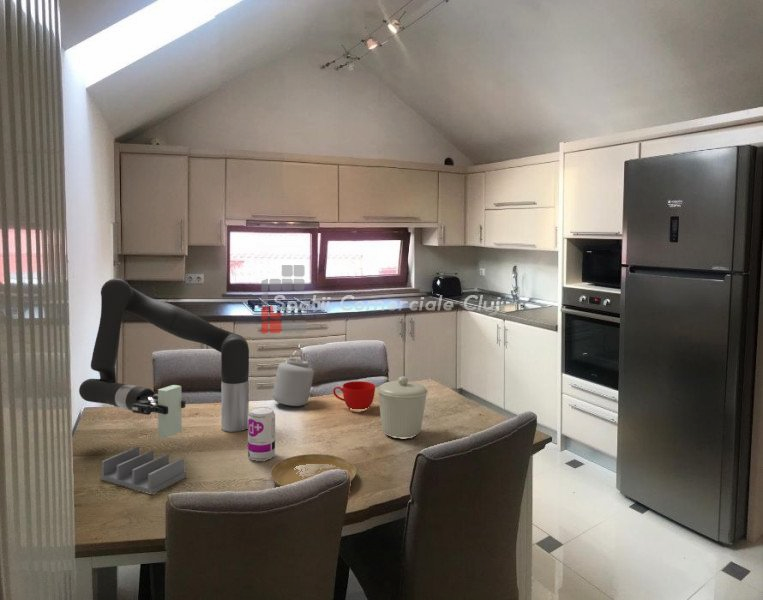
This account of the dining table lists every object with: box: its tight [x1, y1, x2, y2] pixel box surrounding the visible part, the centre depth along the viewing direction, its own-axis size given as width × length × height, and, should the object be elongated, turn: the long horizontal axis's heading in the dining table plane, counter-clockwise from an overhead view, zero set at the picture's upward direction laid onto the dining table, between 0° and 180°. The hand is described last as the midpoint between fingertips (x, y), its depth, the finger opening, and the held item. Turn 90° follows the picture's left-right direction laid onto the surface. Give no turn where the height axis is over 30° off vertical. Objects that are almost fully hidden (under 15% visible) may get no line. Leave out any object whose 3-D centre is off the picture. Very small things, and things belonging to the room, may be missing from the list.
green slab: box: [157, 384, 183, 439], centre depth 158 cm, size 3×6×14 cm, turn 156°
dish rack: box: [100, 445, 186, 495], centre depth 150 cm, size 19×12×6 cm, turn 66°
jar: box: [271, 343, 316, 407], centre depth 219 cm, size 19×15×25 cm
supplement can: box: [247, 406, 276, 462], centre depth 167 cm, size 8×8×15 cm
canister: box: [376, 375, 429, 437], centre depth 189 cm, size 18×18×21 cm
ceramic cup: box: [332, 380, 376, 409], centre depth 215 cm, size 13×17×10 cm
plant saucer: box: [270, 453, 357, 488], centre depth 153 cm, size 24×24×3 cm
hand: (176, 407), depth 157 cm, fingers closed on green slab, 6 cm apart
